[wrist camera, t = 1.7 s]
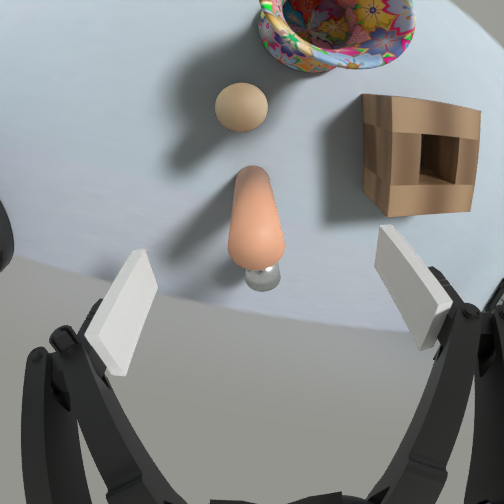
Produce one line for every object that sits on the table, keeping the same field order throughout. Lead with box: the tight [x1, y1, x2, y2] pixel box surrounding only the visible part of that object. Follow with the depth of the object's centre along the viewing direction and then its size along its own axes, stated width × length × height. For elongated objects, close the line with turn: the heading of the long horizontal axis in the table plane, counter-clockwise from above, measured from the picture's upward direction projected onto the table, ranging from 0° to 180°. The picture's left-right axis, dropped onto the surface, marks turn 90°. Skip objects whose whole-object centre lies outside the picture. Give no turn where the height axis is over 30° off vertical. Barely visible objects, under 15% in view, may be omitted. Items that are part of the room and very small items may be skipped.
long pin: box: [228, 166, 285, 270], centre depth 21 cm, size 3×3×12 cm
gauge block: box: [362, 94, 481, 217], centre depth 21 cm, size 10×10×6 cm
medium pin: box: [215, 83, 268, 132], centre depth 19 cm, size 3×3×8 cm
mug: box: [258, 0, 415, 72], centre depth 13 cm, size 12×9×11 cm
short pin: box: [245, 262, 280, 292], centre depth 28 cm, size 3×3×5 cm
